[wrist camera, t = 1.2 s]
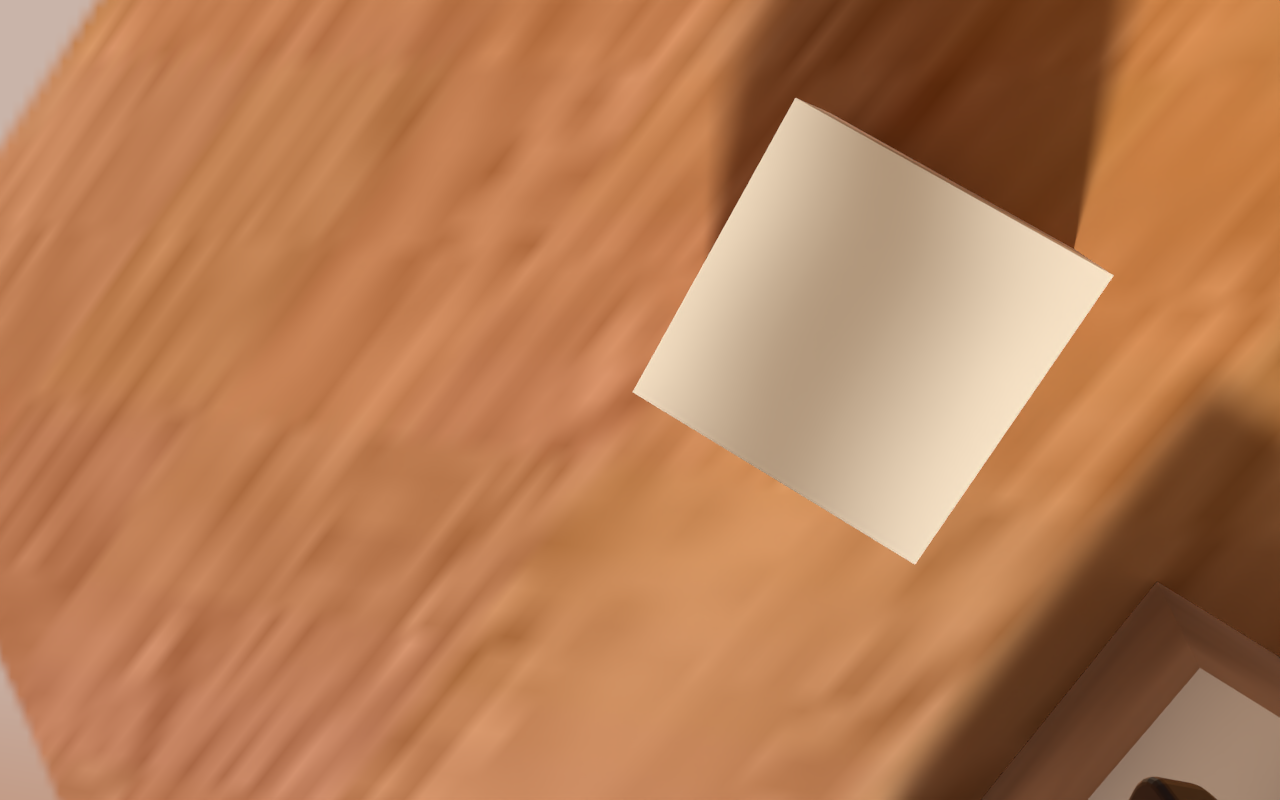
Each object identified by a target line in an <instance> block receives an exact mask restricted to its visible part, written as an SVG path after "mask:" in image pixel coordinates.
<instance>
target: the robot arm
mask: <svg viewBox="0 0 1280 800" xmlns="http://www.w3.org/2000/svg"><path fill="white" fill-rule="evenodd" d="M1129 800H1217V799H1216V798H1215V797H1214V796H1213V795H1211V794H1210V793H1209V792H1208V791H1207V790H1205V789H1204V788H1202V787H1200V786H1198V785H1196V784H1193V783H1189V782H1183V781H1178V780H1172V779H1167V778H1161V777H1147V778H1145V779H1143V780H1142V781H1141V782H1139V783H1138V784H1137V786H1136V787H1135V789H1134V790H1133V792H1132V794H1131V796H1130V798H1129Z"/></svg>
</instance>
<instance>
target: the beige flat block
mask: <svg viewBox="0 0 1280 800" xmlns="http://www.w3.org/2000/svg"><path fill="white" fill-rule="evenodd" d="M1147 777H1161V778H1167V779H1172V780H1178V781H1183V782H1189V783H1193V784H1196V785H1198V786H1200V787H1202V788H1204V789H1205V790H1207V791H1208V792H1209V793H1210V794H1211V795H1213V796H1214V797H1215V798H1216V799H1217V800H1280V657H1279V656H1277V655H1275V654H1274V653H1272V652H1270V651H1269V650H1267V649H1266V648H1264V647H1262V646H1261V645H1259V644H1258V643H1256V642H1254V641H1253V640H1251V639H1249V638H1248V637H1246V636H1245V635H1243V634H1241V633H1240V632H1238V631H1236V630H1235V629H1233V628H1232V627H1230V626H1228V625H1227V624H1225V623H1223V622H1222V621H1220V620H1219V619H1217V618H1215V617H1214V616H1212V615H1210V614H1209V613H1207V612H1206V611H1204V610H1202V609H1201V608H1199V607H1198V606H1196V605H1194V604H1193V603H1191V602H1189V601H1188V600H1186V599H1185V598H1183V597H1181V596H1180V595H1178V594H1176V593H1175V592H1173V591H1172V590H1170V589H1168V588H1167V587H1165V586H1163V585H1162V584H1160V583H1159V582H1156V583H1155V585H1154V586H1153V587H1152V588H1151V590H1150V591H1149V592H1148V593H1147V595H1146V596H1145V597H1144V598H1143V600H1142V601H1141V602H1140V603H1139V605H1138V606H1137V607H1136V608H1135V609H1134V611H1133V612H1132V613H1131V614H1130V616H1129V617H1128V618H1127V619H1126V621H1125V622H1124V623H1123V624H1122V626H1121V627H1120V628H1119V629H1118V631H1117V632H1116V633H1115V634H1114V635H1113V637H1112V638H1111V639H1110V640H1109V642H1108V643H1107V644H1106V645H1105V647H1104V648H1103V649H1102V650H1101V652H1100V653H1099V654H1098V655H1097V657H1096V658H1095V659H1094V660H1093V661H1092V663H1091V664H1090V665H1089V666H1088V668H1087V669H1086V670H1085V671H1084V673H1083V674H1082V675H1081V676H1080V678H1079V679H1078V680H1077V681H1076V683H1075V684H1074V685H1073V686H1072V688H1071V689H1070V690H1069V691H1068V692H1067V694H1066V695H1065V696H1064V697H1063V699H1062V700H1061V701H1060V702H1059V704H1058V705H1057V706H1056V707H1055V709H1054V710H1053V711H1052V712H1051V714H1050V715H1049V716H1048V717H1047V718H1046V720H1045V721H1044V722H1043V723H1042V725H1041V726H1040V727H1039V728H1038V730H1037V731H1036V732H1035V733H1034V735H1033V736H1032V737H1031V738H1030V740H1029V741H1028V742H1027V743H1026V744H1025V746H1024V747H1023V748H1022V749H1021V751H1020V752H1019V753H1018V754H1017V756H1016V757H1015V758H1014V759H1013V761H1012V762H1011V763H1010V764H1009V766H1008V767H1007V768H1006V769H1005V771H1004V772H1003V773H1002V774H1001V775H1000V777H999V778H998V779H997V780H996V782H995V783H994V784H993V785H992V787H991V788H990V789H989V790H988V792H987V793H986V794H985V795H984V797H983V798H982V799H981V800H1129V798H1130V796H1131V794H1132V792H1133V790H1134V789H1135V787H1136V786H1137V784H1138V783H1139V782H1141V781H1142V780H1143V779H1145V778H1147Z"/></svg>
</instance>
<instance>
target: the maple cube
mask: <svg viewBox="0 0 1280 800" xmlns="http://www.w3.org/2000/svg"><path fill="white" fill-rule="evenodd" d="M1113 276H1114V275H1112V274H1111V273H1109V272H1108V271H1106V270H1105V269H1103V268H1102V267H1100V266H1099V265H1097V264H1096V263H1094V262H1093V261H1091V260H1090V259H1088V258H1087V257H1085V256H1084V255H1082V254H1081V253H1079V252H1078V251H1076V250H1075V249H1073V248H1071V247H1070V246H1068V245H1066V244H1064V243H1062V242H1061V241H1059V240H1057V239H1055V238H1053V237H1052V236H1050V235H1048V234H1046V233H1044V232H1043V231H1041V230H1039V229H1037V228H1036V227H1034V226H1032V225H1030V224H1028V223H1027V222H1025V221H1023V220H1021V219H1019V218H1018V217H1016V216H1014V215H1012V214H1010V213H1009V212H1007V211H1005V210H1003V209H1002V208H1000V207H998V206H996V205H994V204H993V203H991V202H989V201H987V200H985V199H984V198H982V197H980V196H978V195H976V194H975V193H973V192H971V191H969V190H968V189H966V188H964V187H962V186H960V185H959V184H957V183H955V182H953V181H951V180H950V179H948V178H946V177H944V176H942V175H941V174H939V173H937V172H935V171H933V170H932V169H930V168H928V167H926V166H925V165H923V164H921V163H919V162H917V161H916V160H914V159H912V158H910V157H908V156H907V155H905V154H903V153H901V152H899V151H898V150H896V149H894V148H892V147H891V146H889V145H887V144H885V143H883V142H882V141H880V140H878V139H876V138H874V137H873V136H871V135H869V134H867V133H865V132H864V131H862V130H860V129H858V128H857V127H855V126H853V125H851V124H849V123H848V122H846V121H844V120H842V119H840V118H839V117H837V116H835V115H833V114H831V113H830V112H827V111H825V110H823V109H820V108H818V107H816V106H814V105H811V104H809V103H807V102H804V101H802V100H800V99H797V98H795V99H794V101H793V103H792V105H791V107H790V108H789V110H788V112H787V114H786V116H785V118H784V119H783V121H782V123H781V125H780V127H779V128H778V130H777V132H776V134H775V136H774V137H773V139H772V141H771V143H770V145H769V146H768V148H767V150H766V152H765V154H764V155H763V157H762V159H761V161H760V163H759V165H758V166H757V168H756V170H755V172H754V174H753V175H752V177H751V179H750V181H749V183H748V184H747V186H746V188H745V190H744V192H743V193H742V195H741V197H740V199H739V201H738V203H737V204H736V206H735V208H734V210H733V212H732V213H731V215H730V217H729V219H728V221H727V222H726V224H725V226H724V228H723V230H722V231H721V233H720V235H719V237H718V239H717V240H716V242H715V244H714V246H713V248H712V250H711V251H710V253H709V255H708V257H707V259H706V260H705V262H704V264H703V266H702V268H701V269H700V271H699V273H698V275H697V277H696V278H695V280H694V282H693V284H692V286H691V288H690V289H689V291H688V293H687V295H686V297H685V298H684V300H683V302H682V304H681V306H680V307H679V309H678V311H677V313H676V315H675V316H674V318H673V320H672V322H671V324H670V326H669V327H668V329H667V331H666V333H665V335H664V336H663V338H662V340H661V342H660V344H659V345H658V347H657V349H656V351H655V353H654V354H653V356H652V358H651V360H650V362H649V363H648V365H647V367H646V369H645V371H644V373H643V374H642V376H641V378H640V380H639V382H638V383H637V385H636V387H635V389H634V391H633V393H635V394H636V395H638V396H640V397H641V398H643V399H645V400H646V401H648V402H649V403H651V404H653V405H654V406H656V407H658V408H659V409H661V410H663V411H664V412H666V413H667V414H669V415H671V416H672V417H674V418H676V419H677V420H679V421H681V422H682V423H684V424H686V425H687V426H689V427H690V428H692V429H694V430H695V431H697V432H699V433H700V434H702V435H704V436H705V437H707V438H708V439H710V440H712V441H713V442H715V443H717V444H718V445H720V446H722V447H723V448H725V449H726V450H728V451H730V452H731V453H733V454H735V455H736V456H738V457H740V458H741V459H743V460H744V461H746V462H748V463H749V464H751V465H753V466H754V467H756V468H758V469H759V470H761V471H762V472H764V473H766V474H767V475H769V476H771V477H772V478H774V479H776V480H777V481H779V482H780V483H782V484H784V485H785V486H787V487H789V488H790V489H792V490H794V491H795V492H797V493H798V494H800V495H802V496H803V497H805V498H807V499H808V500H810V501H812V502H813V503H815V504H817V505H818V506H820V507H821V508H823V509H825V510H826V511H828V512H830V513H831V514H833V515H835V516H836V517H838V518H839V519H841V520H843V521H844V522H846V523H848V524H849V525H851V526H853V527H854V528H856V529H857V530H859V531H861V532H862V533H864V534H866V535H867V536H869V537H871V538H872V539H874V540H875V541H877V542H879V543H880V544H882V545H884V546H885V547H887V548H889V549H890V550H892V551H893V552H895V553H897V554H898V555H900V556H902V557H903V558H905V559H907V560H908V561H910V562H911V563H913V564H916V562H917V561H918V559H919V558H920V556H921V555H922V554H923V552H924V551H925V549H926V548H927V546H928V545H929V543H930V542H931V540H932V539H933V538H934V536H935V535H936V533H937V532H938V530H939V529H940V527H941V526H942V524H943V523H944V522H945V520H946V519H947V517H948V516H949V514H950V513H951V511H952V510H953V508H954V507H955V506H956V504H957V503H958V501H959V500H960V498H961V497H962V495H963V494H964V492H965V491H966V490H967V488H968V487H969V485H970V484H971V482H972V481H973V479H974V478H975V476H976V475H977V474H978V472H979V471H980V469H981V468H982V466H983V465H984V463H985V462H986V460H987V459H988V458H989V456H990V455H991V453H992V452H993V450H994V449H995V447H996V446H997V444H998V443H999V442H1000V440H1001V439H1002V437H1003V436H1004V434H1005V433H1006V431H1007V430H1008V428H1009V427H1010V426H1011V424H1012V423H1013V421H1014V420H1015V418H1016V417H1017V415H1018V414H1019V412H1020V411H1021V410H1022V408H1023V407H1024V405H1025V404H1026V402H1027V401H1028V399H1029V398H1030V396H1031V395H1032V394H1033V392H1034V391H1035V389H1036V388H1037V386H1038V385H1039V383H1040V382H1041V380H1042V379H1043V378H1044V376H1045V375H1046V373H1047V372H1048V370H1049V369H1050V367H1051V366H1052V364H1053V363H1054V362H1055V360H1056V359H1057V357H1058V356H1059V354H1060V353H1061V351H1062V350H1063V348H1064V347H1065V346H1066V344H1067V343H1068V341H1069V340H1070V338H1071V337H1072V335H1073V334H1074V332H1075V331H1076V330H1077V328H1078V327H1079V325H1080V324H1081V322H1082V321H1083V319H1084V318H1085V316H1086V315H1087V314H1088V312H1089V311H1090V309H1091V308H1092V306H1093V305H1094V303H1095V302H1096V300H1097V299H1098V298H1099V296H1100V295H1101V293H1102V292H1103V290H1104V289H1105V287H1106V286H1107V284H1108V283H1109V282H1110V280H1111V279H1112V277H1113Z"/></svg>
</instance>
